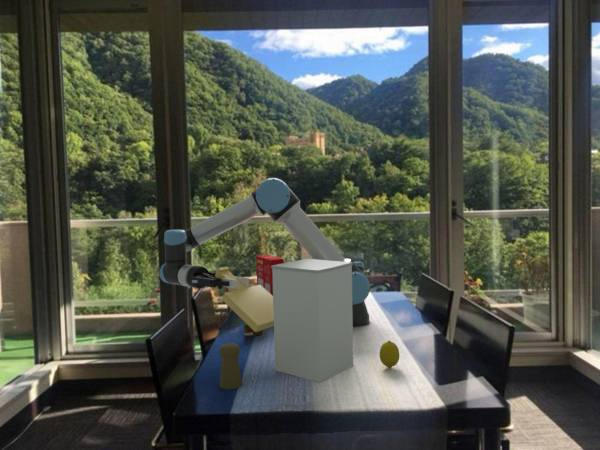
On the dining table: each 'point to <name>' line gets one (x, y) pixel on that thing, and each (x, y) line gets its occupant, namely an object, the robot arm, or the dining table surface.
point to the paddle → (249, 302)
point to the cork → (230, 367)
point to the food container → (251, 331)
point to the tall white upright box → (313, 318)
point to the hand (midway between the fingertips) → (242, 283)
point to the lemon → (389, 354)
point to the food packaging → (266, 270)
